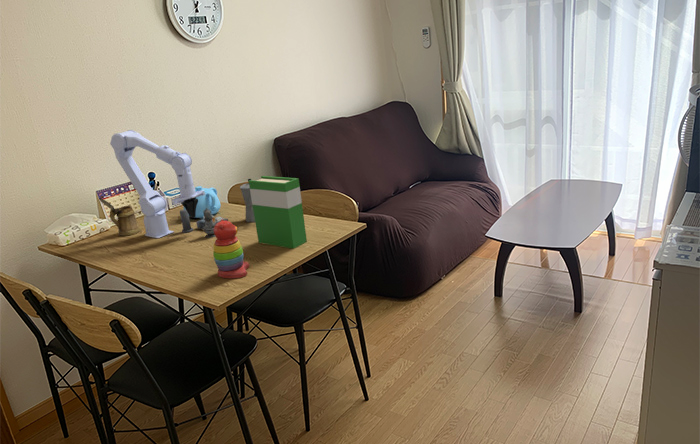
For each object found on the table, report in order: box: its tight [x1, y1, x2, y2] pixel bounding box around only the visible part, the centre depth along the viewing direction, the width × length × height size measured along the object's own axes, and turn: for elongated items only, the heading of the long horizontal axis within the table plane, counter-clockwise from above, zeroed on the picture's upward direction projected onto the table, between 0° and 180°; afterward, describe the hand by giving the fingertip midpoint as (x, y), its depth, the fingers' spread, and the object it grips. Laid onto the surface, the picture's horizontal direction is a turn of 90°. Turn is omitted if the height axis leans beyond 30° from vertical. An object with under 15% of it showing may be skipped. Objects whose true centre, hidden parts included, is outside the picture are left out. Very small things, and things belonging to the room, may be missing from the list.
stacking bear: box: [213, 219, 250, 279], centre depth 167 cm, size 11×10×18 cm
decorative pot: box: [182, 185, 222, 220], centre depth 237 cm, size 16×16×14 cm
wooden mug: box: [99, 197, 142, 237], centre depth 220 cm, size 9×14×18 cm, turn 139°
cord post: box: [179, 209, 194, 234], centre depth 217 cm, size 4×4×9 cm
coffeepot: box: [239, 178, 255, 223], centre depth 221 cm, size 15×9×18 cm, turn 37°
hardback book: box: [248, 175, 308, 250], centre depth 190 cm, size 18×7×24 cm, turn 55°
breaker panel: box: [196, 215, 229, 230], centre depth 219 cm, size 11×8×4 cm
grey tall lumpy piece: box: [202, 208, 216, 239], centre depth 207 cm, size 6×6×12 cm
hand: (192, 216), depth 211 cm, fingers closed
